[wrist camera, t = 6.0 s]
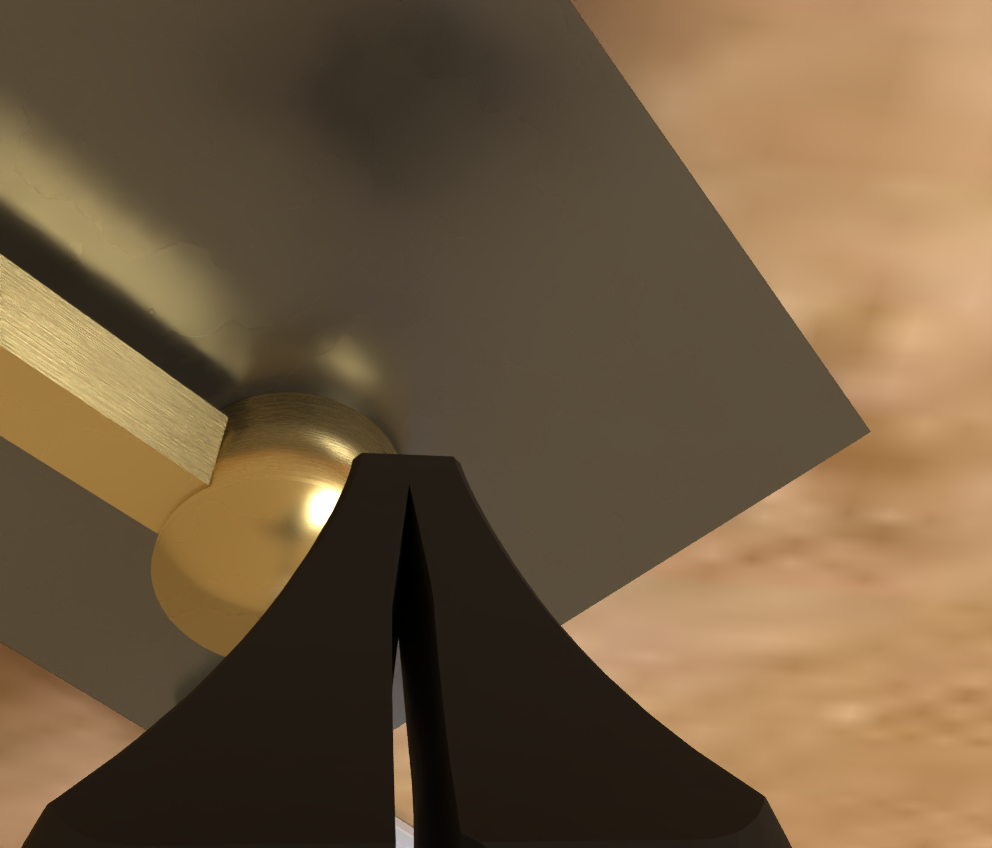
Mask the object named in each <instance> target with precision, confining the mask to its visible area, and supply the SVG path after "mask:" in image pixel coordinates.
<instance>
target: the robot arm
mask: <svg viewBox="0 0 992 848" xmlns="http://www.w3.org/2000/svg"><path fill="white" fill-rule="evenodd" d="M398 638H399V650H400V661H401V672H402V683H403V693H404V704H405V715H406V725H407V736H408V747H409V757H410V768H411V778H412V793H413V813H414V828H412V827H411V826H409V825H408V824H406V823H404V822H403V821H401V820H400V819H398V818H397V817H395V800H394V763H393V706H392V688H393V680H394V672H395V663H396V655H397V646H398ZM22 848H792V847H791V845H790V843H789V841H788V839H787V837H786V835H785V833H784V831H783V829H782V827H781V826H780V824H779V822H778V820H777V818H776V816H775V814H774V812H773V810H772V809H771V807H770V805H769V803H768V801H767V799H766V798H765V797H764V796H763V795H762V794H760V793H759V792H757V791H756V790H754V789H753V788H751V787H750V786H748V785H747V784H745V783H744V782H742V781H741V780H739V779H738V778H736V777H735V776H733V775H732V774H730V773H729V772H727V771H726V770H724V769H723V768H721V767H720V766H718V765H717V764H716V763H714V762H713V761H711V760H710V759H708V758H707V757H705V756H704V755H702V754H701V753H699V752H698V751H696V750H695V749H694V748H692V747H691V746H690V745H688V744H687V743H686V742H684V741H683V740H682V739H681V738H679V737H678V736H677V735H675V734H674V733H673V732H672V731H670V730H669V729H668V728H667V727H665V726H664V725H663V724H661V723H660V722H659V721H658V720H656V719H655V718H654V717H653V716H651V715H650V714H649V713H648V712H647V711H645V710H644V709H643V708H642V707H641V706H640V705H639V704H638V703H637V702H636V701H634V700H633V699H632V698H631V697H630V696H629V695H628V694H627V693H626V692H625V691H623V690H622V689H621V688H620V687H619V686H618V685H617V684H616V683H615V682H614V681H612V680H611V679H610V678H609V677H608V676H607V675H606V674H605V673H604V672H603V671H602V670H601V669H600V668H599V667H598V666H597V665H596V664H595V663H594V662H593V661H592V660H591V659H590V658H589V657H588V655H587V654H586V653H585V652H584V651H583V650H582V649H581V648H580V647H579V646H578V645H577V644H576V642H575V641H574V640H573V639H572V638H571V637H570V636H569V635H568V633H567V632H566V631H565V630H564V629H563V628H562V627H561V625H560V624H559V623H558V622H557V621H556V619H555V618H554V617H553V616H552V614H551V613H550V612H549V611H548V609H547V608H546V607H545V606H544V604H543V603H542V602H541V600H540V599H539V598H538V596H537V595H536V594H535V592H534V591H533V589H532V588H531V587H530V585H529V584H528V583H527V581H526V580H525V579H524V577H523V576H522V574H521V573H520V571H519V570H518V568H517V567H516V565H515V564H514V562H513V561H512V559H511V558H510V556H509V555H508V553H507V551H506V550H505V548H504V547H503V545H502V543H501V542H500V540H499V539H498V537H497V535H496V534H495V532H494V531H493V529H492V527H491V525H490V524H489V522H488V520H487V518H486V517H485V515H484V513H483V511H482V509H481V507H480V505H479V504H478V502H477V500H476V498H475V496H474V494H473V492H472V490H471V488H470V485H469V483H468V481H467V479H466V476H465V474H464V472H463V469H462V466H461V464H460V463H459V462H458V461H457V460H456V459H455V457H454V456H432V455H407V454H382V453H361V454H359V455H358V456H357V457H355V458H354V459H353V460H352V465H351V469H350V472H349V475H348V478H347V480H346V483H345V485H344V488H343V490H342V492H341V494H340V496H339V498H338V500H337V502H336V504H335V506H334V508H333V510H332V512H331V514H330V516H329V518H328V519H327V521H326V523H325V525H324V526H323V528H322V530H321V532H320V533H319V535H318V537H317V539H316V540H315V542H314V544H313V545H312V547H311V549H310V550H309V552H308V553H307V555H306V556H305V558H304V559H303V561H302V562H301V564H300V565H299V567H298V568H297V569H296V571H295V572H294V574H293V575H292V577H291V578H290V580H289V581H288V582H287V584H286V585H285V587H284V588H283V590H282V591H281V592H280V594H279V595H278V596H277V598H276V599H275V600H274V602H273V603H272V604H271V605H270V607H269V608H268V609H267V611H266V612H265V613H264V614H263V615H262V617H261V618H260V619H259V620H258V621H257V623H256V624H255V625H254V626H253V627H252V629H251V630H250V631H249V632H248V633H247V634H246V636H245V637H244V638H243V639H242V640H241V641H240V642H239V643H238V645H237V646H236V647H235V648H234V649H233V650H232V651H231V652H230V653H229V654H228V655H227V656H226V657H225V658H224V659H223V660H222V661H221V662H220V663H219V664H218V666H217V667H216V668H215V669H214V670H213V671H212V672H211V673H210V674H209V675H208V676H207V677H206V678H205V679H204V680H203V681H202V682H201V683H200V684H199V685H198V686H197V687H196V688H195V689H193V690H192V691H191V692H190V693H189V694H188V695H187V696H186V697H185V698H184V699H182V700H181V701H180V702H179V703H178V704H177V705H176V706H174V707H173V708H172V709H171V710H170V711H169V712H167V713H166V714H165V715H164V716H163V717H162V718H161V719H159V720H158V721H157V722H156V723H155V724H154V725H152V726H151V727H150V728H149V729H148V730H147V731H145V732H144V733H143V734H142V735H141V736H140V737H139V738H137V739H136V740H135V741H134V742H132V743H131V744H130V745H129V746H127V747H126V748H125V749H124V750H122V751H121V752H120V753H118V754H117V755H116V756H114V757H113V758H112V759H110V760H109V761H107V762H106V763H105V764H103V765H102V766H101V767H99V768H98V769H96V770H95V771H94V772H92V773H91V774H90V775H88V776H87V777H85V778H84V779H83V780H81V781H80V782H78V783H77V784H76V785H74V786H73V787H72V788H70V789H69V790H67V791H66V792H65V793H63V794H62V795H61V796H59V797H58V798H56V799H55V800H53V801H52V802H50V803H49V804H47V806H46V808H45V809H44V811H43V812H42V814H41V815H40V817H39V819H38V820H37V822H36V824H35V825H34V827H33V829H32V830H31V832H30V834H29V835H28V837H27V839H26V840H25V842H24V844H23V846H22Z"/></svg>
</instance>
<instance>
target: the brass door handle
mask: <svg viewBox="0 0 992 848" xmlns="http://www.w3.org/2000/svg"><path fill="white" fill-rule="evenodd" d="M0 436H2V437H3V438H5V439H7V440H8V441H10V442H11V443H13V444H15V445H16V446H18V447H19V448H21V449H23V450H24V451H26V452H27V453H29V454H31V455H32V456H34V457H35V458H37V459H39V460H40V461H42V462H43V463H45V464H47V465H48V466H50V467H51V468H53V469H55V470H56V471H58V472H59V473H61V474H63V475H64V476H66V477H67V478H69V479H71V480H72V481H74V482H75V483H77V484H79V485H80V486H82V487H83V488H85V489H87V490H88V491H90V492H91V493H93V494H95V495H96V496H98V497H99V498H101V499H103V500H104V501H106V502H107V503H109V504H111V505H112V506H114V507H115V508H117V509H119V510H120V511H122V512H123V513H125V514H127V515H128V516H130V517H131V518H133V519H135V520H136V521H138V522H139V523H141V524H143V525H144V526H146V527H147V528H149V529H151V530H152V531H154V532H155V533H157V534H158V533H159V535H158V538H157V541H156V543H155V546H154V550H153V555H152V559H151V578H152V585H153V588H154V591H155V594H156V597H157V599H158V601H159V603H160V605H161V607H162V609H163V610H164V612H165V613H166V615H167V616H168V617H169V619H170V620H171V621H172V622H173V623H174V624H175V625H176V626H177V627H178V629H179V630H181V631H182V632H183V633H184V634H185V635H187V636H188V637H189V638H190V639H192V640H193V641H195V642H196V643H198V644H199V645H201V646H202V647H204V648H206V649H208V650H210V651H212V652H214V653H216V654H219V655H221V656H224V657H226V656H227V655H228V654H229V653H230V652H231V651H232V650H233V649H234V648H235V647H236V646H237V645H238V643H239V642H240V641H241V640H242V639H243V638H244V637H245V636H246V634H247V633H248V632H249V631H250V630H251V629H252V627H253V626H254V625H255V624H256V623H257V621H258V620H259V619H260V618H261V617H262V615H263V614H264V613H265V612H266V611H267V609H268V608H269V607H270V605H271V604H272V603H273V602H274V600H275V599H276V598H277V596H278V595H279V594H280V592H281V591H282V590H283V588H284V587H285V585H286V584H287V582H288V581H289V580H290V578H291V577H292V575H293V574H294V572H295V571H296V569H297V568H298V567H299V565H300V564H301V562H302V561H303V559H304V558H305V556H306V555H307V553H308V552H309V550H310V549H311V547H312V545H313V544H314V542H315V540H316V539H317V537H318V535H319V533H320V532H321V530H322V528H323V526H324V525H325V523H326V521H327V519H328V518H329V516H330V514H331V512H332V510H333V508H334V506H335V504H336V502H337V500H338V498H339V496H340V494H341V492H342V490H343V488H344V485H345V483H346V480H347V478H348V475H349V472H350V469H351V465H352V460H353V459H354V458H355V457H357V456H358V455H359V454H361V453H382V454H397V452H396V450H395V448H394V446H393V445H392V443H391V442H390V440H389V439H388V437H387V436H386V435H385V434H384V433H383V431H382V430H381V429H380V428H379V427H378V426H377V425H376V424H374V423H373V422H372V421H371V420H370V419H369V418H367V417H366V416H364V415H363V414H361V413H360V412H358V411H357V410H355V409H353V408H351V407H349V406H347V405H345V404H343V403H341V402H338V401H335V400H333V399H330V398H326V397H322V396H318V395H314V394H307V393H300V392H278V393H268V394H262V395H257V396H253V397H250V398H247V399H244V400H241V401H238V402H236V403H234V404H232V405H230V406H228V407H226V408H224V409H223V410H221V411H219V410H217V409H216V408H215V407H213V406H212V405H210V404H209V403H208V402H206V401H205V400H204V399H202V398H201V397H199V396H198V395H197V394H195V393H194V392H192V391H191V390H190V389H188V388H187V387H185V386H184V385H183V384H181V383H180V382H178V381H177V380H176V379H174V378H173V377H171V376H170V375H169V374H167V373H166V372H164V371H163V370H162V369H160V368H159V367H158V366H156V365H155V364H153V363H152V362H151V361H149V360H148V359H146V358H145V357H144V356H142V355H141V354H139V353H138V352H137V351H135V350H134V349H132V348H131V347H130V346H128V345H127V344H125V343H124V342H123V341H121V340H120V339H118V338H117V337H116V336H114V335H113V334H112V333H110V332H109V331H107V330H106V329H105V328H103V327H102V326H100V325H99V324H98V323H96V322H95V321H93V320H92V319H91V318H89V317H88V316H86V315H85V314H84V313H82V312H81V311H79V310H78V309H77V308H75V307H74V306H72V305H71V304H70V303H68V302H67V301H66V300H64V299H63V298H61V297H60V296H59V295H57V294H56V293H54V292H53V291H52V290H50V289H49V288H47V287H46V286H45V285H43V284H42V283H40V282H39V281H38V280H36V279H35V278H33V277H32V276H31V275H29V274H28V273H26V272H25V271H24V270H22V269H21V268H20V267H18V266H17V265H15V264H14V263H13V262H11V261H10V260H8V259H7V258H6V257H4V256H3V255H1V254H0Z"/></svg>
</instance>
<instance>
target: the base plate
mask: <svg viewBox="0 0 992 848" xmlns="http://www.w3.org/2000/svg"><path fill="white" fill-rule="evenodd" d="M0 254H1V255H3V256H4V257H6V258H7V259H8V260H10V261H11V262H13V263H14V264H15V265H17V266H18V267H20V268H21V269H22V270H24V271H25V272H26V273H28V274H29V275H31V276H32V277H33V278H35V279H36V280H38V281H39V282H40V283H42V284H43V285H45V286H46V287H47V288H49V289H50V290H52V291H53V292H54V293H56V294H57V295H59V296H60V297H61V298H63V299H64V300H66V301H67V302H68V303H70V304H71V305H72V306H74V307H75V308H77V309H78V310H79V311H81V312H82V313H84V314H85V315H86V316H88V317H89V318H91V319H92V320H93V321H95V322H96V323H98V324H99V325H100V326H102V327H103V328H105V329H106V330H107V331H109V332H110V333H112V334H113V335H114V336H116V337H117V338H118V339H120V340H121V341H123V342H124V343H125V344H127V345H128V346H130V347H131V348H132V349H134V350H135V351H137V352H138V353H139V354H141V355H142V356H144V357H145V358H146V359H148V360H149V361H151V362H152V363H153V364H155V365H156V366H158V367H159V368H160V369H162V370H163V371H164V372H166V373H167V374H169V375H170V376H171V377H173V378H174V379H176V380H177V381H178V382H180V383H181V384H183V385H184V386H185V387H187V388H188V389H190V390H191V391H192V392H194V393H195V394H197V395H198V396H199V397H201V398H202V399H204V400H205V401H206V402H208V403H209V404H210V405H212V406H213V407H215V408H216V409H217V410H219V411H221V410H223V409H224V408H226V407H228V406H230V405H232V404H234V403H236V402H238V401H241V400H244V399H247V398H250V397H253V396H257V395H262V394H268V393H278V392H300V393H307V394H314V395H318V396H322V397H326V398H330V399H333V400H335V401H338V402H341V403H343V404H345V405H347V406H349V407H351V408H353V409H355V410H357V411H358V412H360V413H361V414H363V415H364V416H366V417H367V418H369V419H370V420H371V421H372V422H373V423H374V424H376V425H377V426H378V427H379V428H380V429H381V430H382V431H383V433H384V434H385V435H386V436H387V437H388V439H389V440H390V442H391V443H392V445H393V446H394V448H395V450H396V452H397V454H407V455H432V456H454V457H455V459H456V460H457V461H458V462H459V463H460V464H461V466H462V469H463V472H464V474H465V476H466V479H467V481H468V483H469V485H470V488H471V490H472V492H473V494H474V496H475V498H476V500H477V502H478V504H479V505H480V507H481V509H482V511H483V513H484V515H485V517H486V518H487V520H488V522H489V524H490V525H491V527H492V529H493V531H494V532H495V534H496V535H497V537H498V539H499V540H500V542H501V543H502V545H503V547H504V548H505V550H506V551H507V553H508V555H509V556H510V558H511V559H512V561H513V562H514V564H515V565H516V567H517V568H518V570H519V571H520V573H521V574H522V576H523V577H524V579H525V580H526V581H527V583H528V584H529V585H530V587H531V588H532V589H533V591H534V592H535V594H536V595H537V596H538V598H539V599H540V600H541V602H542V603H543V604H544V606H545V607H546V608H547V609H548V611H549V612H550V613H551V614H552V616H553V617H554V618H555V619H556V621H557V622H558V623H559V624H560V625H562V624H564V623H565V622H567V621H568V620H570V619H572V618H573V617H575V616H576V615H578V614H580V613H581V612H583V611H585V610H586V609H588V608H589V607H591V606H593V605H594V604H596V603H597V602H599V601H601V600H602V599H604V598H605V597H607V596H609V595H610V594H612V593H613V592H615V591H617V590H618V589H620V588H621V587H623V586H625V585H626V584H628V583H629V582H631V581H633V580H634V579H636V578H637V577H639V576H641V575H642V574H644V573H645V572H647V571H649V570H650V569H652V568H653V567H655V566H657V565H658V564H660V563H661V562H663V561H665V560H666V559H668V558H669V557H671V556H673V555H674V554H676V553H677V552H679V551H681V550H682V549H684V548H685V547H687V546H689V545H690V544H692V543H693V542H695V541H697V540H698V539H700V538H701V537H703V536H705V535H706V534H708V533H709V532H711V531H713V530H714V529H716V528H717V527H719V526H721V525H722V524H724V523H725V522H727V521H729V520H730V519H732V518H733V517H735V516H737V515H738V514H740V513H741V512H743V511H745V510H746V509H748V508H749V507H751V506H753V505H754V504H756V503H757V502H759V501H761V500H762V499H764V498H765V497H767V496H769V495H770V494H772V493H773V492H775V491H777V490H778V489H780V488H782V487H783V486H785V485H786V484H788V483H790V482H791V481H793V480H794V479H796V478H798V477H799V476H801V475H802V474H804V473H806V472H807V471H809V470H810V469H812V468H814V467H815V466H817V465H818V464H820V463H822V462H823V461H825V460H826V459H828V458H830V457H831V456H833V455H834V454H836V453H838V452H839V451H841V450H842V449H844V448H846V447H847V446H849V445H850V444H852V443H854V442H855V441H857V440H858V439H860V438H862V437H863V436H865V435H866V434H868V433H870V430H869V429H868V427H867V426H866V424H865V423H864V421H863V420H862V419H861V417H860V416H859V414H858V413H857V411H856V410H855V409H854V407H853V406H852V404H851V403H850V401H849V400H848V399H847V397H846V396H845V394H844V393H843V391H842V390H841V389H840V387H839V386H838V384H837V383H836V381H835V380H834V378H833V377H832V376H831V374H830V373H829V371H828V370H827V368H826V367H825V366H824V364H823V363H822V361H821V360H820V358H819V357H818V356H817V354H816V353H815V351H814V350H813V348H812V347H811V346H810V344H809V343H808V341H807V340H806V338H805V337H804V335H803V334H802V333H801V331H800V330H799V328H798V327H797V325H796V324H795V323H794V321H793V320H792V318H791V317H790V315H789V314H788V313H787V311H786V310H785V308H784V307H783V305H782V304H781V302H780V301H779V300H778V298H777V297H776V295H775V294H774V292H773V291H772V290H771V288H770V287H769V285H768V284H767V282H766V281H765V280H764V278H763V277H762V275H761V274H760V272H759V271H758V270H757V268H756V267H755V265H754V264H753V262H752V261H751V259H750V258H749V257H748V255H747V254H746V252H745V251H744V249H743V248H742V247H741V245H740V244H739V242H738V241H737V239H736V238H735V237H734V235H733V234H732V232H731V231H730V229H729V228H728V227H727V225H726V224H725V222H724V221H723V219H722V218H721V216H720V215H719V214H718V212H717V211H716V209H715V208H714V206H713V205H712V204H711V202H710V201H709V199H708V198H707V196H706V195H705V194H704V192H703V191H702V189H701V188H700V186H699V185H698V184H697V182H696V181H695V179H694V178H693V176H692V175H691V173H690V172H689V171H688V169H687V168H686V166H685V165H684V163H683V162H682V161H681V159H680V158H679V156H678V155H677V153H676V152H675V151H674V149H673V148H672V146H671V145H670V143H669V142H668V141H667V139H666V138H665V136H664V135H663V133H662V132H661V130H660V129H659V128H658V126H657V125H656V123H655V122H654V120H653V119H652V118H651V116H650V115H649V113H648V112H647V110H646V109H645V108H644V106H643V105H642V103H641V102H640V100H639V99H638V98H637V96H636V95H635V93H634V92H633V90H632V89H631V87H630V86H629V85H628V83H627V82H626V80H625V79H624V77H623V76H622V75H621V73H620V72H619V70H618V69H617V67H616V66H615V65H614V63H613V62H612V60H611V59H610V57H609V56H608V55H607V53H606V52H605V50H604V49H603V47H602V46H601V44H600V43H599V42H598V40H597V39H596V37H595V36H594V34H593V33H592V32H591V30H590V29H589V27H588V26H587V24H586V23H585V22H584V20H583V19H582V17H581V16H580V14H579V13H578V12H577V10H576V9H575V7H574V6H573V4H572V3H571V1H570V0H0ZM158 535H159V533H158V534H157V533H155V532H154V531H152V530H151V529H149V528H147V527H146V526H144V525H143V524H141V523H139V522H138V521H136V520H135V519H133V518H131V517H130V516H128V515H127V514H125V513H123V512H122V511H120V510H119V509H117V508H115V507H114V506H112V505H111V504H109V503H107V502H106V501H104V500H103V499H101V498H99V497H98V496H96V495H95V494H93V493H91V492H90V491H88V490H87V489H85V488H83V487H82V486H80V485H79V484H77V483H75V482H74V481H72V480H71V479H69V478H67V477H66V476H64V475H63V474H61V473H59V472H58V471H56V470H55V469H53V468H51V467H50V466H48V465H47V464H45V463H43V462H42V461H40V460H39V459H37V458H35V457H34V456H32V455H31V454H29V453H27V452H26V451H24V450H23V449H21V448H19V447H18V446H16V445H15V444H13V443H11V442H10V441H8V440H7V439H5V438H3V437H2V436H0V642H1V643H3V644H4V645H6V646H8V647H9V648H11V649H13V650H14V651H16V652H18V653H19V654H21V655H23V656H24V657H26V658H28V659H29V660H31V661H33V662H34V663H36V664H38V665H39V666H41V667H43V668H44V669H46V670H48V671H49V672H51V673H53V674H54V675H56V676H58V677H59V678H61V679H63V680H64V681H66V682H68V683H69V684H71V685H73V686H74V687H76V688H78V689H79V690H81V691H83V692H84V693H86V694H88V695H89V696H91V697H93V698H94V699H96V700H98V701H99V702H101V703H103V704H104V705H106V706H108V707H109V708H111V709H113V710H114V711H116V712H118V713H119V714H121V715H123V716H124V717H126V718H128V719H129V720H131V721H133V722H134V723H136V724H138V725H139V726H141V727H143V728H144V729H146V730H148V729H149V728H150V727H151V726H152V725H154V724H155V723H156V722H157V721H158V720H159V719H161V718H162V717H163V716H164V715H165V714H166V713H167V712H169V711H170V710H171V709H172V708H173V707H174V706H176V705H177V704H178V703H179V702H180V701H181V700H182V699H184V698H185V697H186V696H187V695H188V694H189V693H190V692H191V691H192V690H193V689H195V688H196V687H197V686H198V685H199V684H200V683H201V682H202V681H203V680H204V679H205V678H206V677H207V676H208V675H209V674H210V673H211V672H212V671H213V670H214V669H215V668H216V667H217V666H218V664H219V663H220V662H221V661H222V660H223V659H224V658H225V657H224V656H221V655H219V654H216V653H214V652H212V651H210V650H208V649H206V648H204V647H202V646H201V645H199V644H198V643H196V642H195V641H193V640H192V639H190V638H189V637H188V636H187V635H185V634H184V633H183V632H182V631H181V630H179V629H178V627H177V626H176V625H175V624H174V623H173V622H172V621H171V620H170V619H169V617H168V616H167V615H166V613H165V612H164V610H163V609H162V607H161V605H160V603H159V601H158V599H157V597H156V594H155V591H154V588H153V585H152V578H151V559H152V555H153V550H154V546H155V543H156V541H157V538H158ZM392 706H393V730H394V729H396V728H397V727H399V726H400V725H402V724H404V723H405V722H406V715H405V704H404V693H403V683H402V672H401V661H400V650H399V638H398V646H397V655H396V663H395V672H394V680H393V688H392Z"/></svg>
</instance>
